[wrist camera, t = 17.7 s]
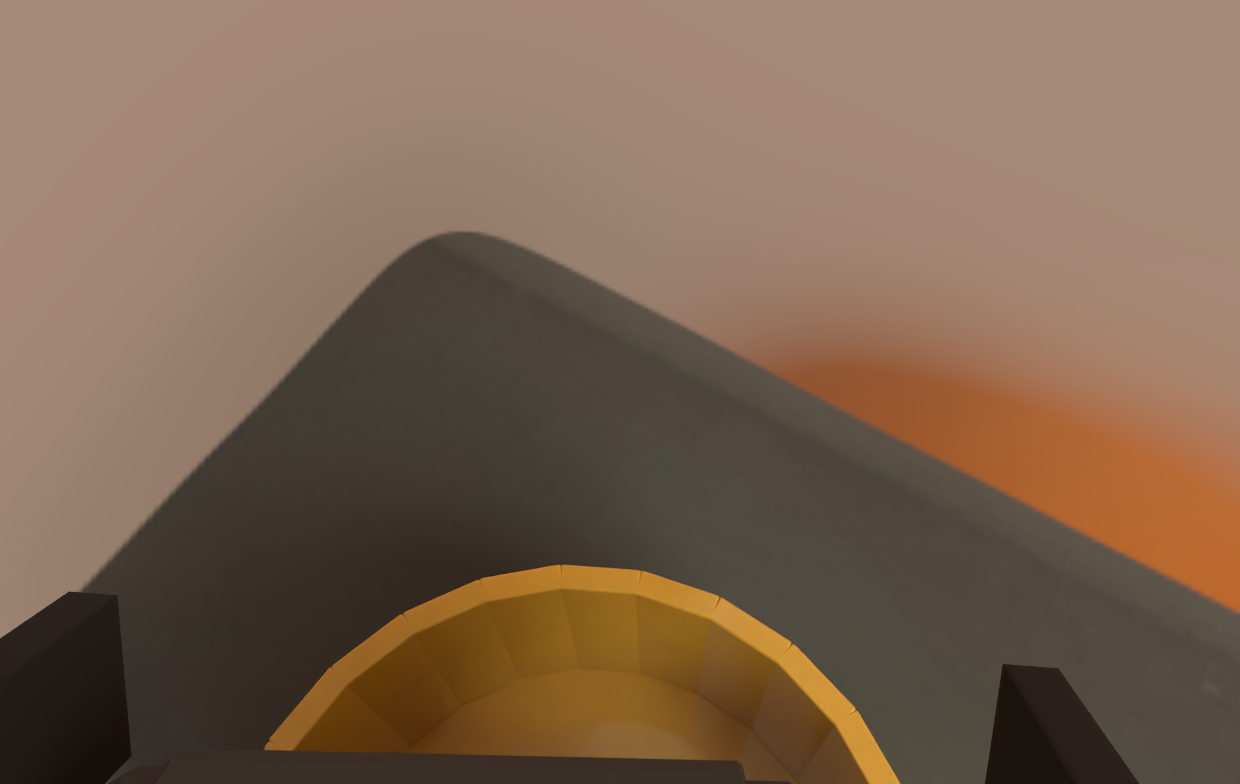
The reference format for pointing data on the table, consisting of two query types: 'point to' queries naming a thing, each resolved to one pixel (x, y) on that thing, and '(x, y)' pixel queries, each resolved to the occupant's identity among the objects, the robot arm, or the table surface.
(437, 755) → the card reader
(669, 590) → the mug
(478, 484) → the table surface
